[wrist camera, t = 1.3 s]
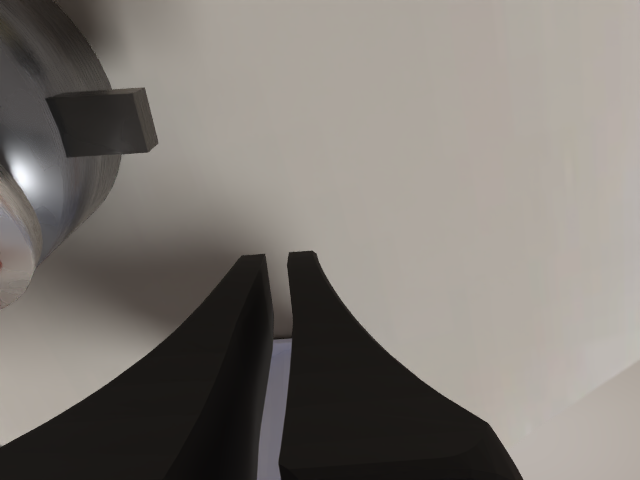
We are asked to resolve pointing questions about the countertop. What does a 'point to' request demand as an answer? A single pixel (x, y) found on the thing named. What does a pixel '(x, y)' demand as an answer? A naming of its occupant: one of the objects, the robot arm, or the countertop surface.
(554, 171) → the countertop surface
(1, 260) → the cooker lid
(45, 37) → the cooker pot
